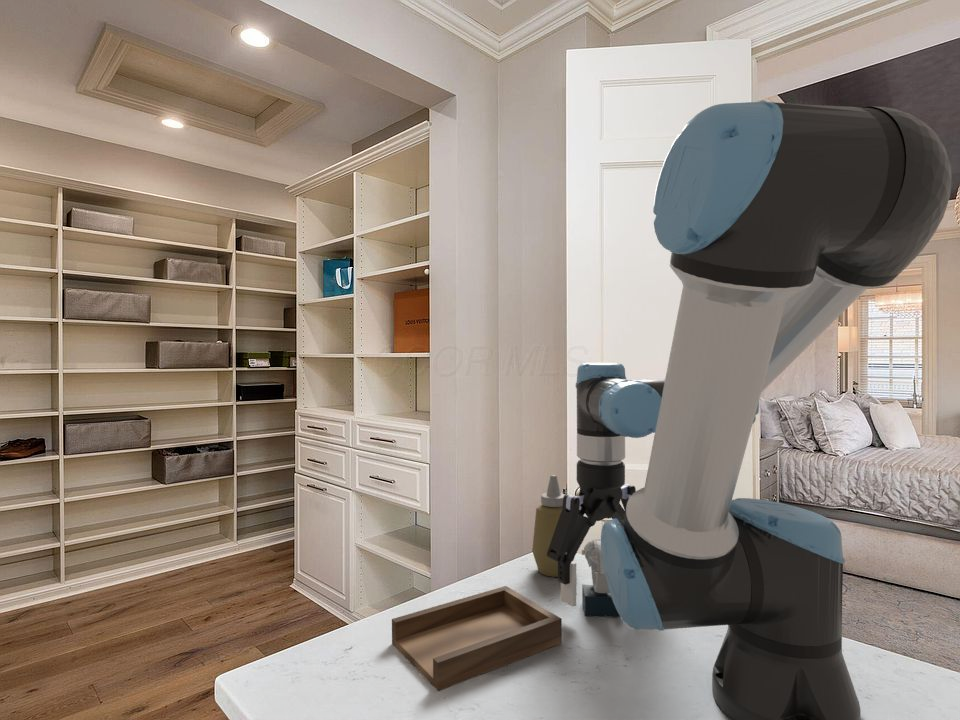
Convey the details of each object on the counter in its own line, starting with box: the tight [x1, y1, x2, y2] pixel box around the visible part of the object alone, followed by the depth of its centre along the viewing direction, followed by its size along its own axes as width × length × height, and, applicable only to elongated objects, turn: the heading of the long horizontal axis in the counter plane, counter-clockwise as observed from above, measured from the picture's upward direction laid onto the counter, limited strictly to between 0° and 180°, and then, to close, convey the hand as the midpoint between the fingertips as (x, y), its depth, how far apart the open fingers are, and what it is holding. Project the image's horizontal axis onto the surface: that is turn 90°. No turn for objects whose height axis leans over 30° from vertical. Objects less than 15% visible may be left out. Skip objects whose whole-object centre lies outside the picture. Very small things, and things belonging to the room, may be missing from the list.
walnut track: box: [391, 585, 563, 692], centre depth 80 cm, size 13×20×4 cm
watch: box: [581, 538, 621, 618], centre depth 90 cm, size 6×8×11 cm
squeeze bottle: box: [531, 474, 575, 578], centre depth 105 cm, size 8×8×18 cm
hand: (600, 591), depth 90 cm, fingers open, 13 cm apart
